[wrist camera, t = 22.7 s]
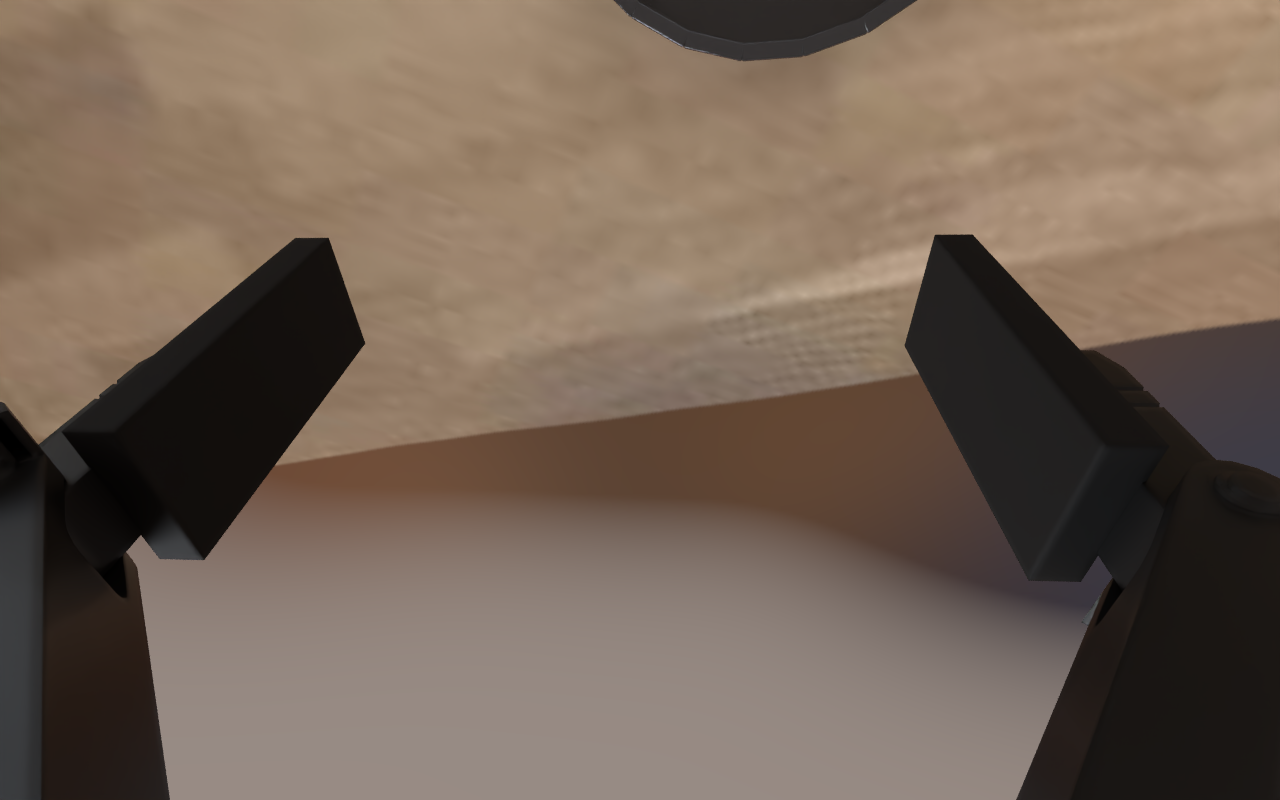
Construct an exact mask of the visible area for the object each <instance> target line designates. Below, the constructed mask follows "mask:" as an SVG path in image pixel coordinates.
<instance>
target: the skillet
mask: <svg viewBox="0 0 1280 800" xmlns="http://www.w3.org/2000/svg"><path fill="white" fill-rule="evenodd" d="M614 1H615V2H616V3H617V4H618V5H619V6H620V7H621V8H622V9H623V10H624V11H625V12H626V13H627V14H628V15H629V16H630V17H632V19H634V20H636V21H637V22H639V23H641V24H643V25H644V26H646V27H648V28H650V29H651V30H653V31H655V32H656V33H658V34H660V35H662V36H663V37H665V38H667V39H669V40H670V41H672V42H674V43H676V44H677V45H679V46H681V47H684V48H685V49H690V50H694V51H698V52H703V53H707V54H712V55H716V56H720V57H725V58H729V59H733V60H738V61H741V60H742V61H754V60H768V59H782V58H795V57H803V56H807V55H810V54H813V53H816V52H819V51H821V50H824V49H827V48H830V47H832V46H835V45H838V44H841V43H843V42H846V41H849V40H852V39H854V38H857V37H860V36H863V35H865V34H866V33H869V32H871V31H872V30H874V29H875V28H877V27H878V26H880V25H881V24H883V23H884V22H886V21H887V20H889V19H890V18H892V17H893V16H895V15H896V14H898V13H899V12H901V11H902V10H903V9H905V8H906V7H908V6H909V5H911V4H912V3H914V2H915V1H917V0H614Z"/></svg>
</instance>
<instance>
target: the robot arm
mask: <svg viewBox="0 0 1280 800" xmlns="http://www.w3.org/2000/svg"><path fill="white" fill-rule="evenodd" d="M364 344H365V341H364V338H363V336H362V333H361V330H360V327H359V324H358V321H357V318H356V315H355V313H354V310H353V307H352V304H351V301H350V298H349V295H348V292H347V289H346V287H345V284H344V281H343V278H342V275H341V272H340V269H339V266H338V264H337V261H336V258H335V255H334V252H333V249H332V246H331V243H330V240H329V238H295V239H294V240H292V241H291V242H290V243H289V244H288V245H286V246H285V247H284V248H283V249H281V250H280V251H279V252H278V253H277V254H275V255H274V256H273V257H272V258H271V259H269V260H268V261H267V262H266V263H265V264H263V265H262V266H261V267H260V268H258V269H257V270H256V271H255V272H254V273H252V274H251V275H250V276H249V277H248V278H246V279H245V280H244V281H243V282H242V283H240V284H239V285H238V286H237V287H236V288H234V289H233V290H232V291H231V292H229V293H228V294H227V295H226V296H225V297H223V298H222V299H221V300H220V301H219V302H217V303H216V304H215V305H214V306H213V307H211V308H210V309H209V310H208V311H206V312H205V313H204V314H203V315H202V316H200V317H199V318H198V319H197V320H196V321H194V322H193V323H192V324H191V325H190V326H188V327H187V328H186V329H185V330H183V331H182V332H181V333H180V334H179V335H177V336H176V337H175V338H174V339H173V340H171V341H170V342H169V343H168V344H167V345H165V346H164V347H163V348H162V349H161V350H159V351H158V352H157V353H156V354H154V355H153V356H151V357H149V358H147V359H145V360H144V361H142V362H140V363H138V364H137V365H136V366H134V367H133V368H132V369H131V370H129V371H128V372H127V373H126V374H125V375H123V376H122V377H121V378H120V379H118V380H117V384H112V385H111V386H110V387H109V388H107V389H106V390H105V391H104V392H103V393H101V394H100V395H99V396H100V398H99V399H94V400H93V401H92V402H90V403H89V404H88V405H87V406H85V407H84V408H83V409H82V410H81V411H79V412H78V413H77V414H76V415H74V416H73V417H72V418H71V419H70V420H68V421H67V422H66V423H65V424H63V425H62V426H61V427H60V428H59V429H57V430H56V431H55V432H54V433H52V434H51V435H50V436H49V437H48V438H46V439H45V440H44V441H43V442H41V443H40V444H39V445H38V444H37V443H36V441H35V440H34V439H33V438H32V436H31V435H30V434H29V433H28V432H27V430H26V429H25V428H24V427H23V425H22V424H21V423H20V422H19V421H18V419H17V418H16V417H15V416H14V414H13V413H12V412H11V411H10V410H9V408H8V407H7V406H6V405H5V403H2V402H0V800H170V798H169V790H168V783H167V776H166V769H165V762H164V755H163V748H162V741H161V734H160V726H159V720H158V713H157V706H156V699H155V691H154V684H153V677H152V670H151V663H150V656H149V648H148V643H147V642H148V641H147V635H146V627H145V620H144V613H143V606H142V599H141V592H140V585H139V578H138V571H137V567H136V565H135V563H134V562H133V560H132V559H131V558H130V556H129V555H128V554H127V553H126V551H127V550H128V549H129V548H130V547H131V546H132V544H133V543H134V542H135V541H136V540H137V538H138V537H139V536H140V535H142V537H143V538H144V539H145V541H146V542H147V543H148V544H149V546H150V547H151V548H152V550H153V551H154V552H155V553H156V555H157V556H158V557H159V558H160V559H183V560H205V558H206V557H207V556H208V554H209V553H210V551H211V550H212V549H213V548H214V546H215V545H216V544H217V542H218V541H219V539H220V538H221V537H222V535H223V534H224V533H225V531H226V530H227V529H228V527H229V526H230V525H231V523H232V522H233V521H234V519H235V518H236V516H237V515H238V514H239V512H240V511H241V510H242V509H243V507H244V506H245V504H246V503H247V502H248V500H249V499H250V498H251V496H252V495H253V494H254V492H255V491H256V490H257V488H258V487H259V485H260V484H261V483H262V481H263V480H264V479H265V478H266V476H267V475H268V474H269V472H270V471H271V470H272V468H273V467H274V465H275V464H276V463H277V461H278V460H279V459H280V457H281V456H282V455H283V453H284V452H285V451H286V449H287V448H288V447H289V445H290V444H291V443H292V441H293V440H294V439H295V437H296V436H297V435H298V433H299V432H300V430H301V429H302V428H303V426H304V425H305V424H306V422H307V421H308V420H309V418H310V417H311V416H312V414H313V413H314V412H315V410H316V409H317V408H318V406H319V405H320V404H321V402H322V401H323V400H324V398H325V397H326V396H327V394H328V393H329V391H330V390H331V389H332V387H333V386H334V385H335V383H336V382H337V381H338V379H339V378H340V377H341V375H342V374H343V373H344V371H345V370H346V369H347V367H348V366H349V365H350V363H351V362H352V361H353V359H354V358H355V356H356V355H357V354H358V352H359V351H360V350H361V348H362V347H363V346H364ZM905 348H906V349H907V351H908V353H909V355H910V357H911V359H912V361H913V363H914V365H915V366H916V368H917V370H918V372H919V374H920V376H921V378H922V380H923V382H924V383H925V385H926V387H927V389H928V391H929V393H930V395H931V397H932V399H933V400H934V402H935V404H936V406H937V408H938V410H939V412H940V414H941V416H942V417H943V419H944V421H945V423H946V425H947V427H948V429H949V431H950V432H951V434H952V436H953V438H954V440H955V442H956V444H957V446H958V448H959V450H960V452H961V453H962V455H963V457H964V459H965V461H966V463H967V465H968V467H969V468H970V470H971V472H972V474H973V476H974V478H975V480H976V482H977V484H978V486H979V487H980V489H981V491H982V493H983V495H984V497H985V499H986V501H987V502H988V504H989V506H990V508H991V510H992V512H993V514H994V516H995V518H996V519H997V521H998V523H999V525H1000V527H1001V529H1002V531H1003V533H1004V534H1005V537H1006V538H1007V540H1008V542H1009V544H1010V546H1011V548H1012V549H1013V552H1014V553H1015V555H1016V557H1017V559H1018V561H1019V563H1020V565H1021V567H1022V569H1023V571H1024V572H1025V574H1026V576H1027V578H1028V580H1029V581H1030V580H1031V581H1070V582H1081V581H1082V579H1083V578H1084V576H1085V575H1086V573H1087V572H1088V570H1089V569H1090V567H1091V566H1092V564H1093V562H1094V561H1095V559H1096V558H1097V556H1099V557H1100V558H1101V560H1102V562H1103V563H1104V565H1105V566H1106V568H1107V569H1108V571H1109V572H1110V574H1111V575H1112V577H1113V578H1112V579H1111V581H1110V582H1109V584H1108V585H1107V586H1106V588H1105V589H1104V591H1103V592H1102V594H1101V595H1100V596H1099V598H1098V599H1097V601H1096V602H1095V604H1094V605H1093V606H1092V608H1091V609H1090V611H1089V612H1088V614H1087V615H1086V616H1085V618H1084V619H1083V621H1082V623H1084V624H1086V625H1088V628H1087V631H1086V633H1085V635H1084V638H1083V640H1082V643H1081V645H1080V648H1079V650H1078V652H1077V655H1076V657H1075V660H1074V662H1073V664H1072V667H1071V669H1070V672H1069V674H1068V677H1067V679H1066V681H1065V684H1064V686H1063V689H1062V691H1061V693H1060V696H1059V698H1058V701H1057V703H1056V705H1055V708H1054V710H1053V713H1052V715H1051V717H1050V720H1049V722H1048V725H1047V727H1046V729H1045V732H1044V734H1043V737H1042V739H1041V742H1040V744H1039V746H1038V749H1037V751H1036V754H1035V756H1034V758H1033V761H1032V763H1031V766H1030V768H1029V770H1028V773H1027V775H1026V778H1025V780H1024V783H1023V785H1022V787H1021V790H1020V792H1019V795H1018V797H1017V799H1016V800H1280V478H1278V477H1275V476H1273V475H1271V474H1269V473H1267V472H1264V471H1262V470H1260V469H1258V468H1254V467H1251V466H1247V465H1244V464H1240V463H1236V462H1233V461H1221V460H1216V459H1215V458H1214V457H1212V455H1211V454H1210V453H1209V452H1208V451H1207V450H1206V449H1205V448H1204V447H1203V446H1202V445H1201V444H1200V443H1199V442H1198V441H1197V440H1196V439H1195V438H1194V437H1193V436H1192V435H1191V434H1190V433H1189V432H1188V431H1187V430H1186V429H1185V428H1184V427H1183V426H1182V425H1181V424H1180V423H1179V422H1178V421H1177V420H1176V419H1175V418H1174V417H1173V416H1172V415H1171V414H1170V413H1169V412H1168V411H1167V410H1166V409H1165V408H1164V407H1159V404H1160V403H1159V402H1158V401H1157V400H1156V399H1155V398H1154V397H1153V396H1152V395H1151V394H1150V393H1149V392H1148V391H1143V386H1142V385H1141V384H1140V383H1139V382H1138V381H1137V380H1136V379H1135V378H1134V377H1133V376H1132V375H1131V374H1130V373H1129V372H1128V371H1127V370H1126V369H1125V368H1124V367H1122V366H1121V365H1119V364H1117V363H1116V362H1114V361H1112V360H1110V359H1109V358H1107V357H1105V356H1103V355H1102V354H1100V353H1098V352H1097V351H1094V350H1080V349H1079V348H1078V347H1077V346H1076V345H1075V344H1074V343H1073V342H1072V341H1071V340H1070V339H1069V338H1068V337H1067V335H1066V334H1065V333H1064V332H1063V331H1062V330H1061V329H1060V328H1059V327H1058V326H1057V325H1056V324H1055V323H1054V322H1053V320H1052V319H1051V318H1050V317H1049V316H1048V315H1047V314H1046V313H1045V312H1044V311H1043V310H1042V309H1041V308H1040V307H1039V305H1038V304H1037V303H1036V302H1035V301H1034V300H1033V299H1032V298H1031V297H1030V296H1029V295H1028V294H1027V293H1026V291H1025V290H1024V289H1023V288H1022V287H1021V286H1020V285H1019V284H1018V283H1017V282H1016V281H1015V280H1014V279H1013V278H1012V276H1011V275H1010V274H1009V273H1008V272H1007V271H1006V270H1005V269H1004V268H1003V267H1002V266H1001V265H1000V264H999V263H998V261H997V260H996V259H995V258H994V257H993V256H992V255H991V254H990V253H989V252H988V251H987V250H986V249H985V248H984V246H983V245H982V244H981V243H980V242H979V241H978V240H977V239H976V238H975V237H974V236H973V235H935V237H934V240H933V244H932V247H931V251H930V255H929V258H928V262H927V266H926V269H925V273H924V277H923V280H922V284H921V288H920V291H919V295H918V299H917V302H916V306H915V310H914V313H913V317H912V321H911V324H910V328H909V332H908V335H907V339H906V343H905Z"/></svg>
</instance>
